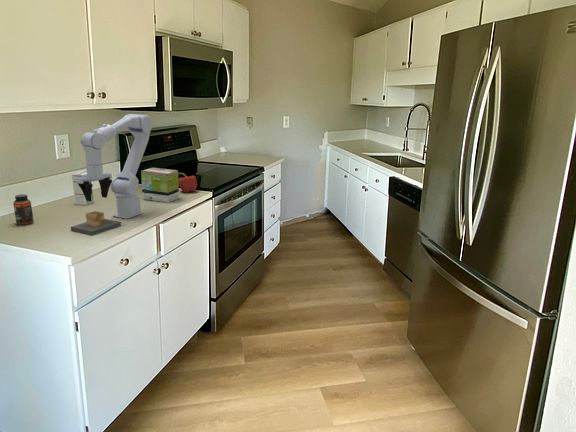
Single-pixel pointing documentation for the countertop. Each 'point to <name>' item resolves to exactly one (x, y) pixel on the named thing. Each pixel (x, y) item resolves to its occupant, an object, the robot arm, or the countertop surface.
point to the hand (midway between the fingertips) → (96, 199)
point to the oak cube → (95, 218)
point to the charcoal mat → (95, 230)
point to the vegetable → (187, 183)
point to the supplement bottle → (23, 210)
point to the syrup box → (78, 192)
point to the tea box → (160, 184)
